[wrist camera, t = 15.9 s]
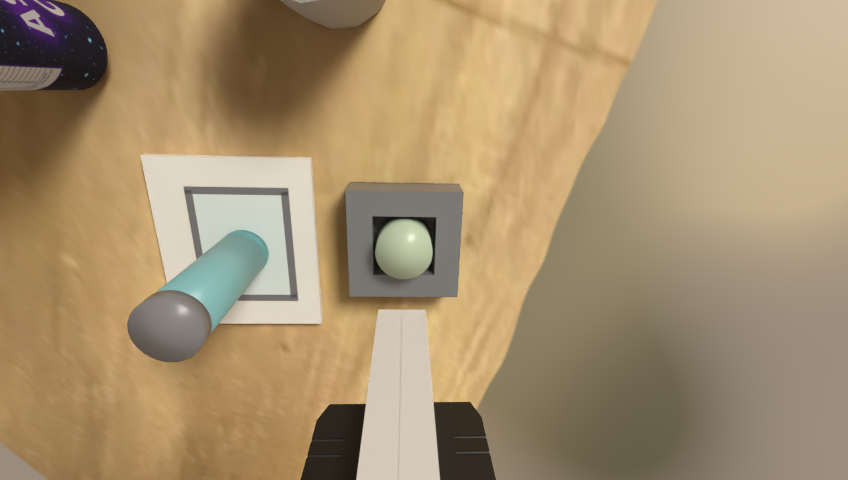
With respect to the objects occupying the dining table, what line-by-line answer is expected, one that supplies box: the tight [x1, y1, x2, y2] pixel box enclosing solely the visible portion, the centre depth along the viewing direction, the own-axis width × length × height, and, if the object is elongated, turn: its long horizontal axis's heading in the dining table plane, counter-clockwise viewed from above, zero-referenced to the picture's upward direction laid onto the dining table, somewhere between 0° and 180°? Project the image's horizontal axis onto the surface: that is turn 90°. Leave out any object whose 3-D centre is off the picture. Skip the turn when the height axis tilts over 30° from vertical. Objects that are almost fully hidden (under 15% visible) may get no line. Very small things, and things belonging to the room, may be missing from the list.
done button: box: [375, 217, 433, 279], centre depth 33 cm, size 4×4×3 cm
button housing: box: [345, 182, 463, 297], centre depth 34 cm, size 9×9×3 cm
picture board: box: [140, 154, 323, 324], centre depth 35 cm, size 15×13×1 cm
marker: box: [127, 230, 269, 362], centre depth 29 cm, size 4×4×12 cm
